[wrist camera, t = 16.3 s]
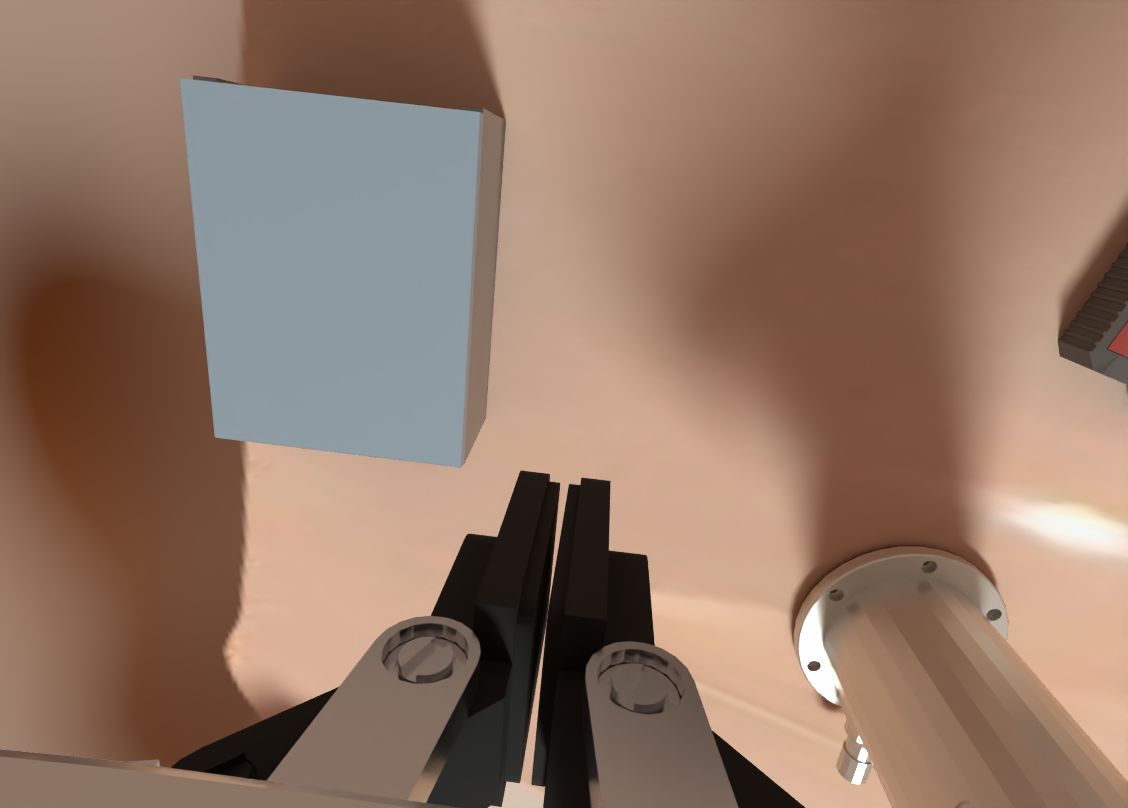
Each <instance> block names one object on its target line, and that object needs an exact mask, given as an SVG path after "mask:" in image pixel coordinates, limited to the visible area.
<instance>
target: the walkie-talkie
mask: <svg viewBox="0 0 1128 808" xmlns="http://www.w3.org/2000/svg"><path fill="white" fill-rule="evenodd" d="M1126 246H1127V247H1126V249H1125V250H1124V251H1123V253H1120V254H1119V255H1118V256H1119V259H1118V260H1117V261H1116V263H1113V264H1112V265H1111V266H1112V268H1111V270H1110V271H1109V273H1106V274H1105V275H1104V276H1105V278H1104V280H1103V281H1102V282H1101V283H1098V285H1097V286H1098V288H1097V289H1096V291H1095V292H1092V293H1091V295H1090V296H1091V298H1090V299H1089V301H1088V302H1085V303H1084V308H1083V309H1082V310H1081V312H1078V313H1077V315H1078V316H1077V317H1076V319H1075V320H1074V321H1071V323H1070V324H1071V326H1070V327H1069V329H1068V330H1065V331H1064V336H1063V337H1062V338H1061V340H1058V346H1059V353H1060V356H1061V357H1063V358H1065V359H1068V360H1070V361H1072V362H1075V363H1077V364H1079V365H1082V366H1084V367H1086V368H1089V369H1091V370H1093V371H1096V372H1098V373H1100V374H1103V375H1105V376H1107V377H1110V378H1112V379H1114V380H1117V381H1119V382H1121V383H1124V384H1126V385H1128V243H1127V244H1126Z"/></svg>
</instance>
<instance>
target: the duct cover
mask: <svg viewBox="0 0 1128 808" xmlns="http://www.w3.org/2000/svg"><path fill="white" fill-rule="evenodd" d="M180 86H181V95H182V106H183V117H184V126H185V137H186V147H187V158H188V168H189V178H190V188H191V198H192V208H193V219H194V229H195V238H196V249H197V259H198V269H199V278H200V289H201V298H202V310H203V320H204V330H205V340H206V350H207V361H208V371H209V380H210V391H211V401H212V411H213V422H214V432H215V437H216V438H224V439H232V440H240V441H248V442H256V443H264V444H272V445H280V446H288V447H296V448H305V449H313V450H321V451H329V452H337V453H345V454H353V455H361V456H369V457H377V458H385V459H393V460H401V461H410V462H418V463H426V464H434V465H442V466H450V467H458V468H461V466H462V464H463V462H464V455H465V437H466V420H467V402H468V384H469V366H470V349H471V331H472V313H473V295H474V277H475V260H476V242H477V224H478V206H479V188H480V171H481V153H482V135H483V117H484V114H483V113H481V112H475V111H466V110H457V109H448V108H439V107H430V106H422V105H413V104H404V103H395V102H386V101H378V100H369V99H360V98H351V97H342V96H333V95H325V94H316V93H307V92H298V91H289V90H280V89H272V88H263V87H254V86H245V85H236V84H228V83H219V82H210V81H201V80H192V79H183V78H180Z"/></svg>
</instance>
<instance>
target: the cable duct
mask: <svg viewBox="0 0 1128 808" xmlns="http://www.w3.org/2000/svg"><path fill="white" fill-rule="evenodd" d="M193 80H201V81H210V82H219V83H228V84H236V85H242V84H238V83H234V82H230V81H226V80H221V79H217V78H209V77H200V76H193ZM245 86H246V85H245ZM460 110H466V111H475V112H481V113H483V114H484V117H483V135H482V153H481V171H480V188H479V206H478V224H477V242H476V260H475V277H474V295H473V313H472V331H471V349H470V366H469V384H468V402H467V420H466V437H465V455H464V462H463V463H465V461H466V459H467V457H468V455H469V453H470V451H471V448H472V446H473V444H474V442H475V440H476V438H477V436H478V434H479V432H480V429H481V427H482V425H483V423H484V421H485V419H486V405H487V391H488V376H489V361H490V347H491V332H492V317H493V302H494V288H495V273H496V258H497V243H498V229H499V214H500V199H501V184H502V170H503V155H504V140H505V126H506V120H504V119H503V118H501V117H499V116H497V115H495V114H493V113H491V112H490V111H488V110H486V109H482V108H474V107H465V106H460Z"/></svg>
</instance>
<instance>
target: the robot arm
mask: <svg viewBox="0 0 1128 808" xmlns="http://www.w3.org/2000/svg"><path fill="white" fill-rule="evenodd" d="M559 491H560V483H556V482H550V474H545V473H536V472H528V471H520V473H519V476H518V479H517V482H516V485H515V488H514V491H513V494H512V497H511V499H510V502H509V505H508V508H507V511H506V514H505V517H504V520H503V522H502V525H501V528H500V531H499V534H498V537H492V536H484V535H476V534H467V536H466V537H465V539H464V541H463V544H462V546H461V548H460V550H459V553H458V555H457V557H456V560H455V562H454V564H453V566H452V569H451V571H450V573H449V575H448V578H447V580H446V582H445V585H444V587H443V589H442V591H441V594H440V596H439V598H438V601H437V603H436V605H435V607H434V610H433V612H432V614H431V616H425V617H415V618H412V619H408V620H405V621H402V622H399V623H397V624H396V625H394V626H392V627H390V628H388V629H387V630H386V631H384V632H383V633H382V634H381V635H380V636H379V637H378V638H377V639H376V640H375V642H374V643H373V644H372V645H371V647H370V648H369V649H368V651H367V652H366V653H365V654H364V656H363V657H362V658H361V660H360V661H359V662H358V663H357V665H356V666H355V667H354V669H353V670H352V671H351V672H350V674H349V675H348V676H347V678H346V679H345V680H344V682H343V683H342V684H341V685H340V687H338V688H335V689H333V690H331V691H329V692H326V693H324V694H322V695H320V696H317V697H315V698H313V699H311V700H308V701H306V702H304V703H302V704H299V705H297V706H295V707H293V708H290V709H288V710H286V711H283V712H281V713H279V714H277V715H274V716H272V717H270V718H268V719H265V720H263V721H261V722H259V723H256V724H254V725H252V726H250V727H248V728H245V729H243V730H241V731H238V732H236V733H234V734H232V735H229V736H227V737H225V738H223V739H220V740H218V741H216V742H214V743H211V744H209V745H207V746H205V747H202V748H200V749H199V750H197V751H195V752H193V753H191V754H190V755H188V756H186V757H184V758H182V759H181V760H179V761H178V762H177V763H176V764H175V765H173V766H172V767H171V768H166V767H160V764H159V760H146V761H131V762H119V761H110V760H103V759H94V758H84V757H74V756H63V755H53V754H42V753H30V752H21V751H10V750H0V808H488V807H489V806H491V805H492V806H499V807H502V802H503V797H504V791H505V786H506V781H508V782H515V783H520V780H521V774H522V768H523V762H524V756H525V750H526V744H527V738H528V732H529V726H530V720H531V714H532V708H533V702H534V695H535V689H536V683H537V677H538V671H539V665H540V659H541V653H542V647H543V641H544V635H545V629H546V636H545V647H544V657H543V668H542V678H541V689H540V699H539V710H538V720H537V731H536V741H535V752H534V762H533V773H532V785H537V786H544V787H545V795H544V805H543V808H805V807H804V806H803V805H801V804H800V803H799V802H798V801H797V800H795V799H794V798H793V797H792V796H791V795H789V794H788V793H787V792H786V791H784V790H783V789H782V788H781V787H780V786H778V785H777V784H776V783H775V782H774V781H772V780H771V779H770V778H769V777H768V776H766V775H765V774H764V773H763V772H762V771H760V770H759V769H758V768H757V767H756V766H754V765H753V764H752V763H751V762H749V761H748V760H747V759H746V758H745V757H743V756H742V755H741V754H740V753H739V752H737V751H736V750H735V749H734V748H733V747H731V746H730V745H729V744H728V743H727V742H725V741H724V740H723V739H722V738H721V737H719V736H718V735H717V734H716V733H715V732H713V731H712V730H711V728H710V725H709V722H708V719H707V716H706V713H705V710H704V708H703V705H702V702H701V699H700V696H699V693H698V690H697V688H696V685H695V682H694V680H693V678H692V676H691V674H690V672H689V671H688V669H687V667H686V666H685V665H683V664H682V663H681V662H680V661H679V660H678V659H677V658H676V657H675V656H673V655H672V654H670V653H668V652H667V651H665V650H663V649H661V648H659V647H656V646H655V645H654V632H653V620H652V608H651V595H650V583H649V571H648V560H647V556H646V555H641V554H633V553H624V552H616V551H609V516H610V481H605V480H597V479H588V478H581V485H573V484H569V488H568V494H567V500H566V506H565V512H564V518H563V524H562V530H561V536H560V542H559V548H558V554H557V560H556V567H555V573H554V579H553V585H552V591H551V597H550V603H549V596H550V586H551V575H552V565H553V554H554V544H555V533H556V523H557V512H558V502H559ZM548 606H549V610H548ZM547 615H548V618H547ZM546 622H547V627H546ZM1008 623H1009V621H1008V616H1007V610H1006V606H1005V604H1004V601H1003V599H1002V597H1001V595H1000V593H999V591H998V590H997V589H996V588H995V586H994V585H993V584H992V583H991V582H990V580H989V579H988V578H987V577H986V576H985V575H984V574H983V573H982V572H981V571H979V570H978V569H977V568H976V567H975V566H974V565H973V564H971V563H969V562H968V561H966V560H964V559H963V558H961V557H959V556H957V555H954V554H951V553H948V552H946V551H943V550H939V549H933V548H927V547H921V546H900V547H893V548H887V549H880V550H877V551H874V552H870V553H867V554H864V555H861V556H858V557H856V558H854V559H852V560H850V561H848V562H846V563H844V564H842V565H841V566H839V567H838V568H836V569H835V570H833V571H832V572H831V573H829V574H828V575H826V576H825V577H824V578H823V579H822V580H821V581H820V582H819V583H818V584H817V585H816V586H815V587H814V588H813V589H812V590H811V592H810V593H809V595H808V596H807V598H806V599H805V601H804V602H803V604H802V606H801V608H800V611H799V613H798V616H797V618H796V622H795V628H794V649H795V652H796V655H797V658H798V661H799V664H800V666H801V668H802V670H803V673H804V675H805V677H806V679H807V680H808V681H809V683H810V684H811V685H812V686H813V688H814V689H815V690H816V691H817V692H818V693H819V694H821V695H822V696H823V697H824V698H826V699H827V700H828V701H830V702H832V703H833V704H835V705H837V706H839V707H841V708H842V709H843V712H844V714H845V716H846V718H847V720H846V722H845V725H844V726H845V731H846V733H847V735H848V737H847V739H846V741H844V743H843V746H842V749H841V752H840V755H839V757H838V760H837V765H836V766H837V769H838V772H839V773H840V774H841V775H842V776H843V777H844V778H845V779H846V780H848V781H850V782H851V783H855V784H859V785H860V784H863V783H865V782H866V781H867V779H868V777H869V774H870V772H871V769H872V766H873V767H874V769H875V771H876V774H877V776H878V778H879V780H880V782H881V785H882V787H883V789H884V791H885V793H886V795H887V798H888V800H889V802H890V804H891V806H892V808H1128V782H1127V780H1126V779H1125V778H1124V777H1123V776H1122V775H1121V773H1120V772H1119V771H1118V770H1117V769H1116V768H1115V766H1114V765H1113V764H1112V763H1111V762H1110V761H1109V759H1108V758H1107V757H1106V756H1105V755H1104V754H1103V753H1102V751H1101V750H1100V749H1099V748H1098V747H1097V746H1096V744H1095V743H1094V742H1093V741H1092V740H1091V739H1090V737H1089V736H1088V735H1087V734H1086V733H1085V732H1084V730H1083V729H1082V728H1081V727H1080V726H1079V725H1078V724H1077V722H1076V721H1075V720H1074V719H1073V718H1072V717H1071V715H1070V714H1069V713H1068V712H1067V711H1066V710H1065V708H1064V707H1063V706H1062V705H1061V704H1060V703H1059V701H1058V700H1057V699H1056V698H1055V697H1054V696H1053V695H1052V693H1051V692H1050V691H1049V690H1048V689H1047V688H1046V686H1045V685H1044V684H1043V683H1042V682H1041V681H1040V679H1039V678H1038V677H1037V676H1036V675H1035V674H1034V672H1033V671H1032V670H1031V669H1030V668H1029V667H1028V666H1027V664H1026V663H1025V662H1024V661H1023V660H1022V659H1021V657H1020V656H1019V655H1018V654H1017V653H1016V652H1015V650H1014V649H1013V648H1012V647H1011V646H1010V645H1009V643H1008V642H1007V641H1006V640H1007V636H1008Z"/></svg>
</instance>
